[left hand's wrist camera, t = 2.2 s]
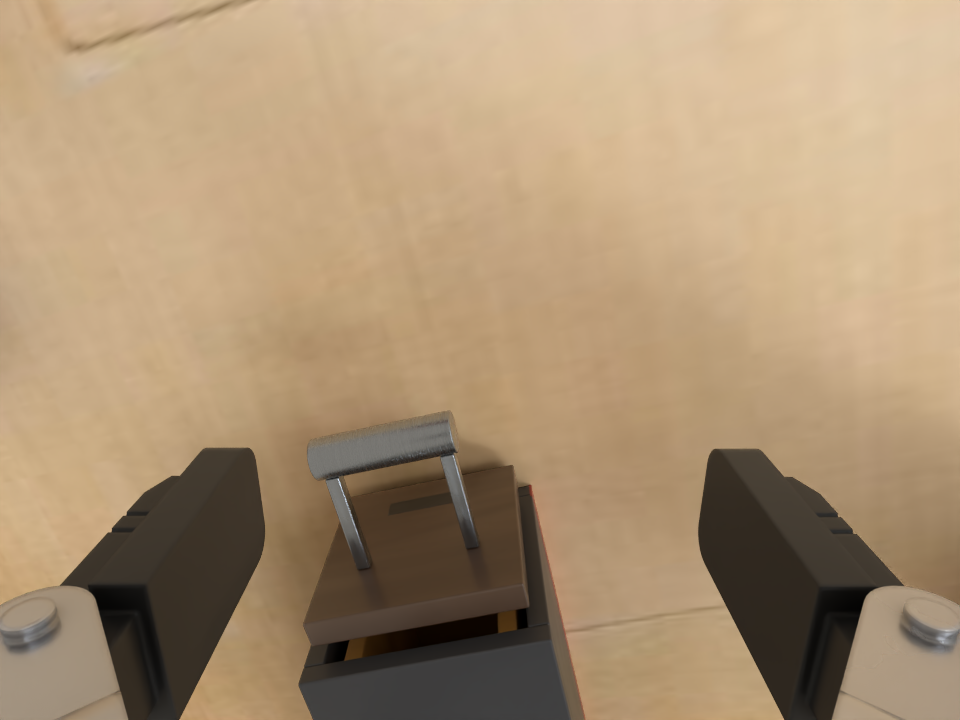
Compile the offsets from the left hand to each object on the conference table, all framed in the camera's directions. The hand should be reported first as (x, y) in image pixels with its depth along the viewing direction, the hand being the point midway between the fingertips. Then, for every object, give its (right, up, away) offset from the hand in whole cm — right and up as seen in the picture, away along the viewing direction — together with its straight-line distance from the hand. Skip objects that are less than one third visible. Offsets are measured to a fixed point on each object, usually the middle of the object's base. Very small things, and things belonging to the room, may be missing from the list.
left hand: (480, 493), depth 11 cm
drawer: (-1, -10, +24) cm, 26 cm away
